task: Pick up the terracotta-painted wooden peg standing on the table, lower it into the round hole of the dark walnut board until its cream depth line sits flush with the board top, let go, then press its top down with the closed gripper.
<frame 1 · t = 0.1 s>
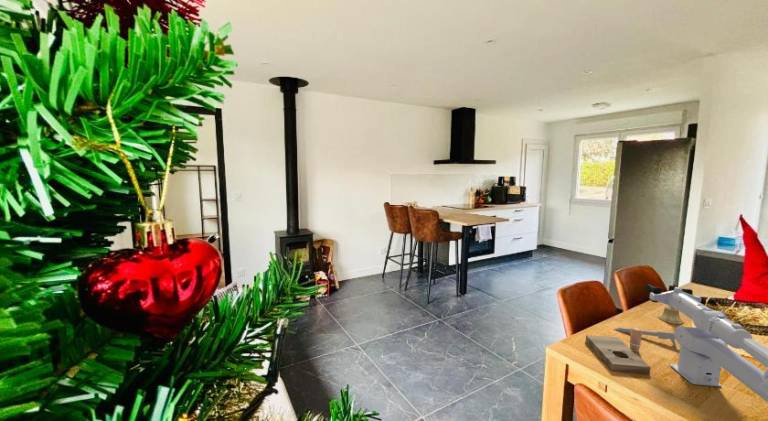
hand: (658, 287, 117), 22 cm above the table, tool horizontal, fingers open, 7 cm apart
caliper: (646, 338, 123), on the table
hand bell: (670, 320, 137), on the table
board: (614, 356, 111), on the table
peg: (634, 350, 114), on the table
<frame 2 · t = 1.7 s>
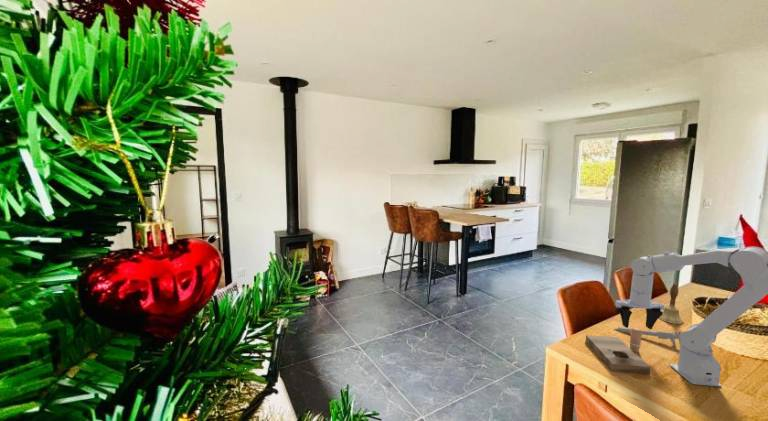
hand: (636, 327, 113), 9 cm above the table, tool pointing down, fingers open, 7 cm apart
nothing on the table moved.
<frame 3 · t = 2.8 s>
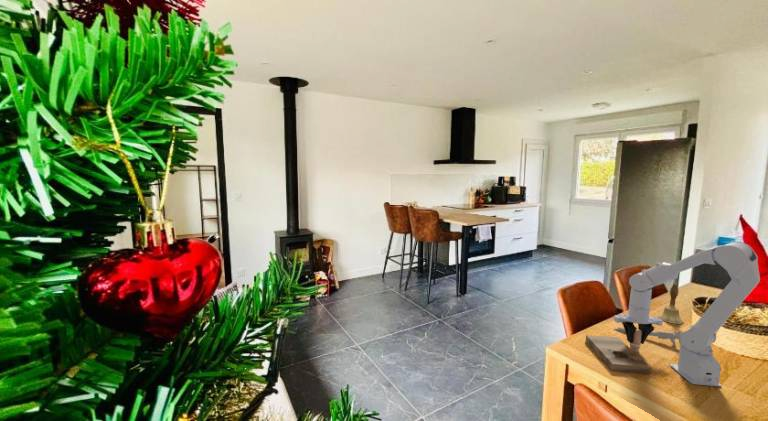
hand: (635, 342, 114), 3 cm above the table, tool pointing down, fingers closed on peg, 3 cm apart
peg: (634, 350, 114), on the table, touching gripper
everything else where it was.
when the fingers open (4 cm above the table, at t = 6.6 s): peg stays where it is, resting in board.
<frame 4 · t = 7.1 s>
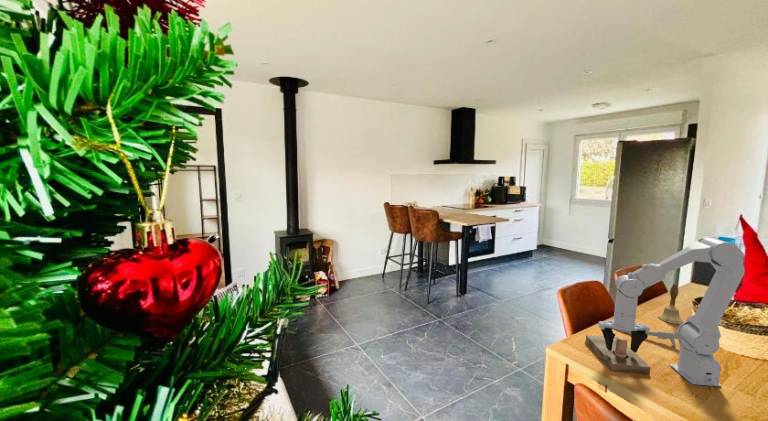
hand: (621, 349, 107), 4 cm above the table, tool pointing down, fingers open, 7 cm apart
peg: (619, 361, 108), resting in board
everything else where it was.
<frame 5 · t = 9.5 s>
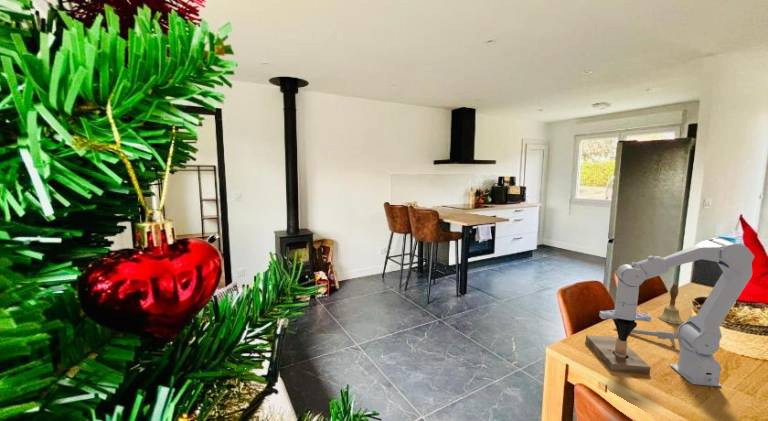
hand: (622, 339, 107), 8 cm above the table, tool pointing down, fingers closed, pressing on peg
peg: (619, 361, 108), resting in board, touching gripper
everything else where it was.
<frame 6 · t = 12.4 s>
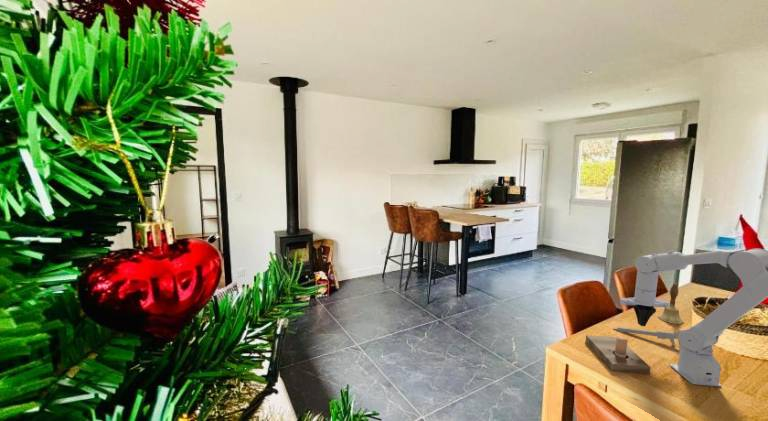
hand: (641, 324, 114), 9 cm above the table, tool pointing down, fingers closed
peg: (619, 361, 108), resting in board
everything else where it was.
at the end: peg 0.2 cm from the target spot on the board, point 0.0 cm above the board's base; peg tilted 0°; the gripper is holding nothing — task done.
